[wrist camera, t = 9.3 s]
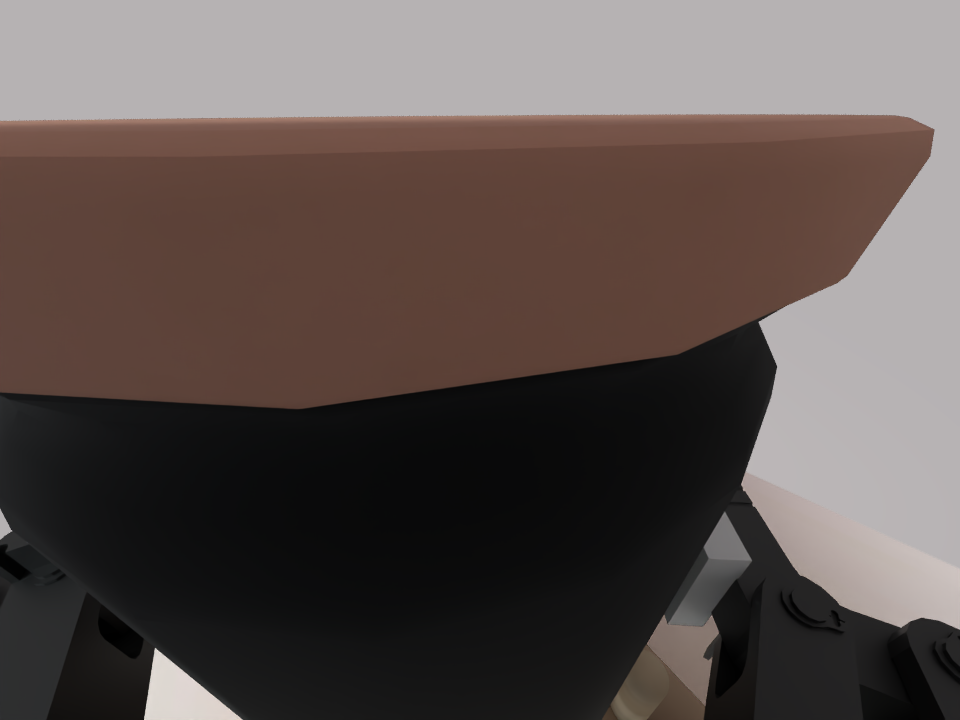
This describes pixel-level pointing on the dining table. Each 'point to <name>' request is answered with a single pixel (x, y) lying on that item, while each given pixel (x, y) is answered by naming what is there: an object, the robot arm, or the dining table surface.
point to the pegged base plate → (654, 694)
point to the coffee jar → (406, 382)
